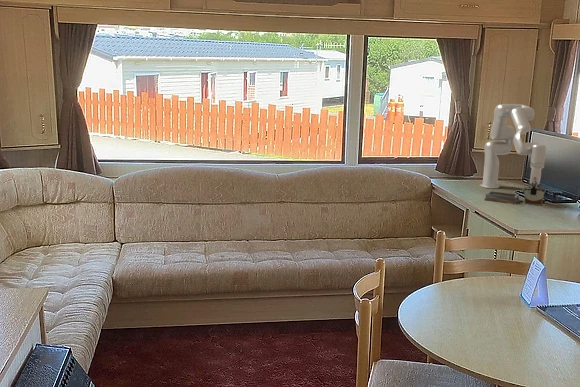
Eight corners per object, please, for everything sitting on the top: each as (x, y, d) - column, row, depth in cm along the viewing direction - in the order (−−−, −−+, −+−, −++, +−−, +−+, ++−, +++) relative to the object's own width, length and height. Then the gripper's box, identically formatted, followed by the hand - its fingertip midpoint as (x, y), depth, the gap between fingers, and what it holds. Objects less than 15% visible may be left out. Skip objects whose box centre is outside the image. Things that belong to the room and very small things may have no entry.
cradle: (488, 196, 355) (489, 190, 354) (518, 199, 347) (519, 194, 346) (484, 200, 344) (485, 194, 343) (515, 204, 336) (516, 198, 335)
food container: (543, 203, 339) (545, 187, 337) (544, 205, 333) (546, 189, 331) (521, 201, 343) (523, 185, 341) (521, 203, 337) (523, 187, 335)
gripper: (532, 162, 342) (529, 190, 346) (528, 166, 327) (525, 195, 331) (545, 164, 339) (542, 191, 342) (542, 167, 324) (539, 196, 327)
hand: (534, 193), depth 336 cm, fingers open, 9 cm apart
